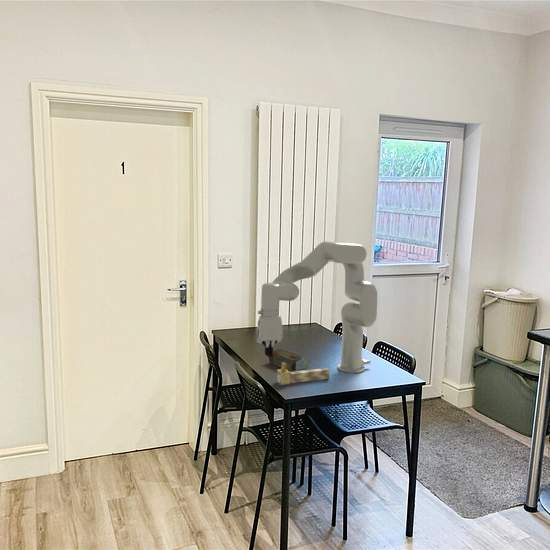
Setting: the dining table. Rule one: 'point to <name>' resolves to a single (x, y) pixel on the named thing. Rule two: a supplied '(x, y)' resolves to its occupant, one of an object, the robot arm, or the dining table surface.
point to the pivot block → (279, 378)
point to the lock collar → (284, 374)
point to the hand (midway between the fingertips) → (268, 355)
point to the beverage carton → (288, 360)
